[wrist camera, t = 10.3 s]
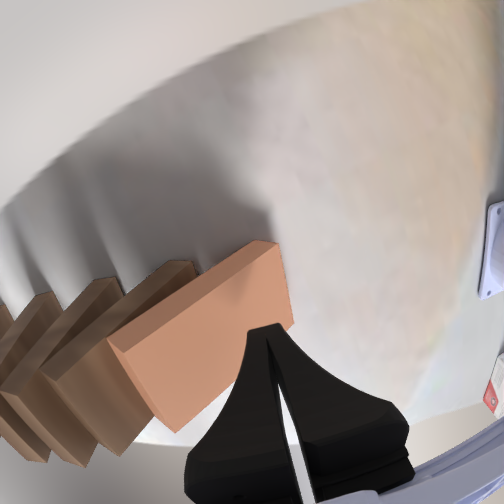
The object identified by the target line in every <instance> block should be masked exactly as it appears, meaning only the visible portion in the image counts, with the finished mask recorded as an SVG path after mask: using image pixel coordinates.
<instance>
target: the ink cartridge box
mask: <svg viewBox="0 0 504 504" xmlns="http://www.w3.org/2000/svg"><path fill="white" fill-rule="evenodd" d="M483 401H484V402H485V403H486V404H487V406H488V407H489V408H490V410H491V411H492V412H493V414H494V415H495V416H496V417H497V419H500V418H501V417H503V416H504V353H502V354H501V355H499V356H498V358H497V361H496V364H495V367H494V370H493V373H492V376H491V379H490V382H489V385H488V388H487V390H486V393H485V396H484V399H483Z"/></svg>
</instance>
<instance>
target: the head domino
mask: <svg viewBox="0 0 504 504" xmlns="http://www.w3.org/2000/svg"><path fill="white" fill-rule="evenodd" d="M274 323H280V324H281V325H282V326H283V328H284V330H285V331H287V330H288V329H289V328H290V327H291V326H292V325H293V324H294V320H293V314H292V309H291V304H290V299H289V293H288V288H287V283H286V278H285V273H284V268H283V263H282V258H281V253H280V248H279V243H274V242H266V241H258V240H253V241H252V242H250V243H249V244H247V245H246V246H244V247H243V248H241V249H240V250H238V251H237V252H235V253H234V254H232V255H231V256H229V257H228V258H226V259H225V260H223V261H221V262H220V263H218V264H217V265H215V266H214V267H212V268H211V269H209V270H208V271H206V272H205V273H203V274H202V275H200V276H199V277H197V278H196V279H194V280H193V281H191V282H190V283H188V284H187V285H185V286H184V287H182V288H181V289H179V290H178V291H176V292H175V293H173V294H172V295H170V296H168V297H167V298H165V299H164V300H162V301H161V302H159V303H158V304H156V305H155V306H153V307H152V308H150V309H149V310H147V311H146V312H144V313H143V314H141V315H140V316H138V317H137V318H135V319H134V320H132V321H131V322H129V323H128V324H126V325H125V326H123V327H122V328H120V329H119V330H117V331H116V332H115V333H113V334H112V335H110V336H109V337H107V338H106V339H107V341H108V342H109V344H110V346H111V348H112V349H113V351H114V353H115V355H116V356H117V358H118V360H119V361H120V363H121V365H122V366H123V368H124V370H125V371H126V373H127V375H128V376H129V378H130V379H131V381H132V382H133V384H134V386H135V387H136V389H137V390H138V392H139V393H140V395H141V396H142V398H143V399H144V401H145V402H146V404H147V405H148V407H149V408H150V410H151V411H152V412H153V414H154V415H155V417H156V418H158V419H159V420H160V421H161V422H162V423H163V424H164V425H166V426H167V427H168V428H169V429H170V430H171V431H173V432H174V433H176V432H178V431H179V430H180V429H181V428H182V427H183V426H185V425H186V424H187V423H188V422H189V421H190V420H192V419H193V418H194V417H195V416H196V415H197V414H199V413H200V412H201V411H202V410H203V409H204V408H205V407H207V406H208V405H209V404H210V403H211V402H212V401H213V400H214V399H216V398H217V397H218V396H219V395H220V394H221V393H222V392H223V391H224V390H225V389H227V388H228V387H229V386H230V385H231V384H232V383H233V382H234V381H235V380H236V379H237V376H238V373H239V370H240V367H241V363H242V360H243V356H244V351H245V346H246V339H247V332H248V330H250V329H255V328H259V327H263V326H267V325H270V324H274Z"/></svg>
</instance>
